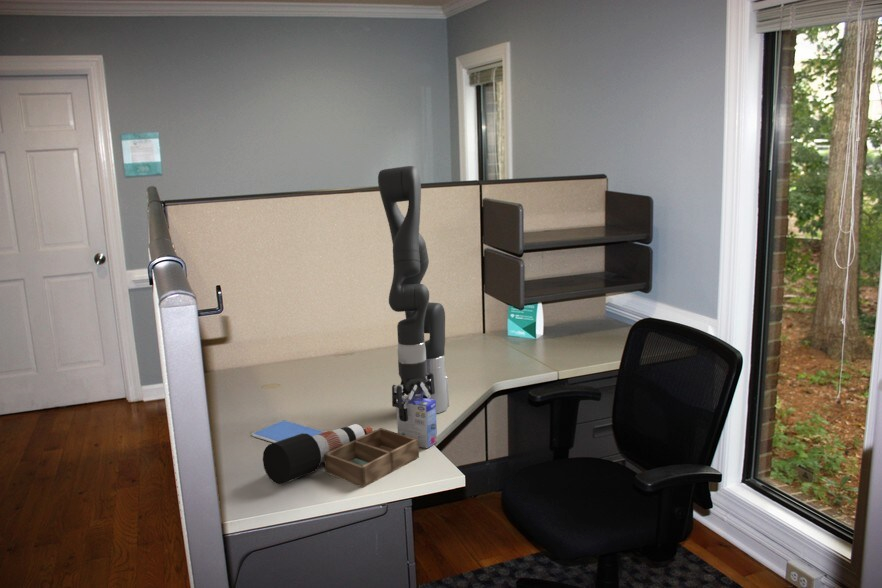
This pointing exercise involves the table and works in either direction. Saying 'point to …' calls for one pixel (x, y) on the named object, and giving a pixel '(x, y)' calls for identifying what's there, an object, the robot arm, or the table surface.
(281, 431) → the blue flat pad
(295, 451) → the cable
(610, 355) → the table surface
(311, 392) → the table surface
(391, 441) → the slot caddy
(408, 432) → the ink cartridge box
